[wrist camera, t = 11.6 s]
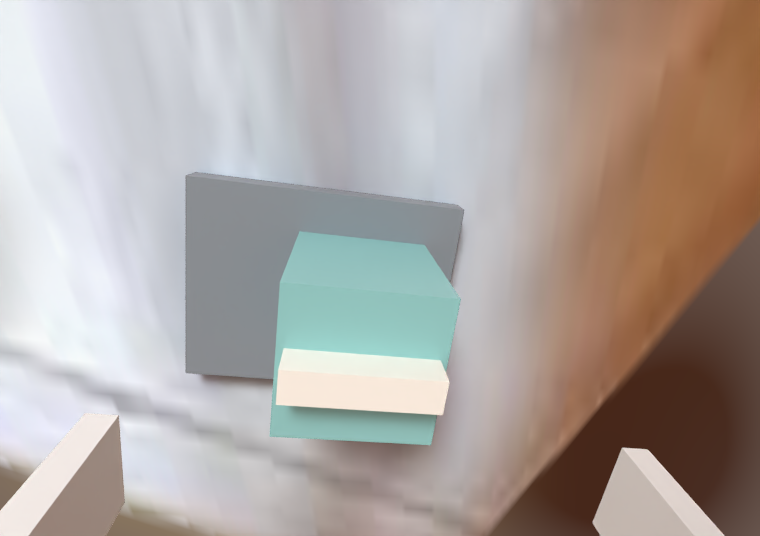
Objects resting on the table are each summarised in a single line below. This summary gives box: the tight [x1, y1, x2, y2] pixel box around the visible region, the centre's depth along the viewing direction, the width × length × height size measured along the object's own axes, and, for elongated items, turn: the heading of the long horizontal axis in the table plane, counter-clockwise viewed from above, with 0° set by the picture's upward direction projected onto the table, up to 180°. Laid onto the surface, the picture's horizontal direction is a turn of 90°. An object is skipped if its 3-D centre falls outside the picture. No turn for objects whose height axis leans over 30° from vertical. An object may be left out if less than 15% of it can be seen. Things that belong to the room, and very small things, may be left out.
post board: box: [186, 172, 464, 379], centre depth 22 cm, size 11×14×6 cm
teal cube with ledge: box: [270, 231, 461, 445], centre depth 20 cm, size 7×7×9 cm
